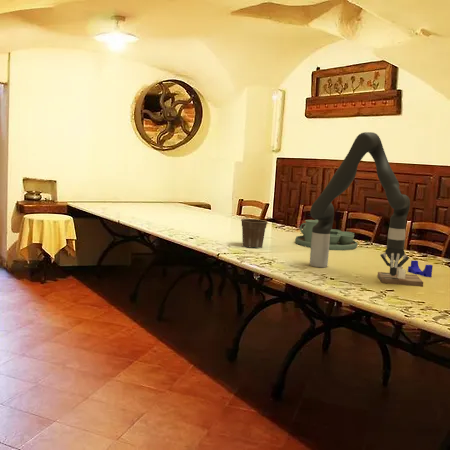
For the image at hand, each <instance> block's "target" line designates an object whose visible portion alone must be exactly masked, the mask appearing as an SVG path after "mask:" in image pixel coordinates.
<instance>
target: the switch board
mask: <svg viewBox="0 0 450 450" xmlns="http://www.w3.org/2000/svg"><path fill="white" fill-rule="evenodd" d="M376 276H377V277H378V280H379V281H380V282H381V283H382V284H392V285H401V286H413V287H423V286H424V281H423V280H422V279H421V278H420V277H419V275H418V274H407V273H406V275H405V279H398V278H397V275H395V276H391V274H390V272H384V271H378V272H377V275H376Z"/></svg>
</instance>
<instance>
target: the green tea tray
mask: <svg viewBox="0 0 450 450" xmlns="http://www.w3.org/2000/svg"><path fill="white" fill-rule="evenodd" d="M318 221H319V220H317V219H305V222H302V223H301V224H300V226H299V231H300V233H301V234H302V235H297V236H296V237H295V238H294V239H295V244H297V245H300V246H302V247H305V246H306V248H311V239H312V228H313V226H315V225H316V224H317V223H318ZM354 237H355V232H351V231H342V230H341V229H333V228H332V229H331V231H330V243H329V251H349V250H355V249H356V248H357V247H358V244H359V243H358V242H357V241H355V240H354Z"/></svg>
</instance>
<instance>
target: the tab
mask: <svg viewBox="0 0 450 450" xmlns="http://www.w3.org/2000/svg"><path fill="white" fill-rule="evenodd" d="M406 272H407V270H406V268H405V269H404V268H403V269H398V273H397V278H398V279H405V275H406V274H407V273H406Z"/></svg>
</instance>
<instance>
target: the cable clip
mask: <svg viewBox="0 0 450 450" xmlns="http://www.w3.org/2000/svg"><path fill="white" fill-rule="evenodd" d="M407 273H410V274H412V275H417V276H422V277H425V278H432V275H433V274H432V273H433V265H432V264H425V266H424V269H423V270H422V269H421V268H420V267H419V260H411V262H410V266H409V265H408V267H407Z"/></svg>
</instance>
